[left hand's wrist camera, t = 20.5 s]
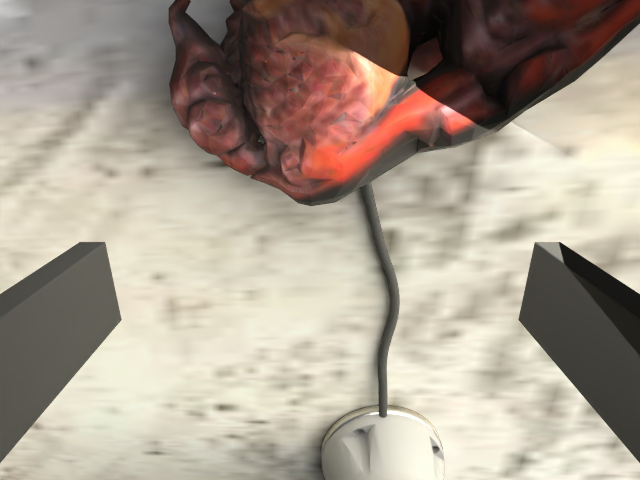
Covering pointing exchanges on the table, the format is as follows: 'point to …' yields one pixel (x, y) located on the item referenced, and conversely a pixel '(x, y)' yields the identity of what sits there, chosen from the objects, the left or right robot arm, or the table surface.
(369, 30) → the sculpture
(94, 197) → the table surface
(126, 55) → the table surface
